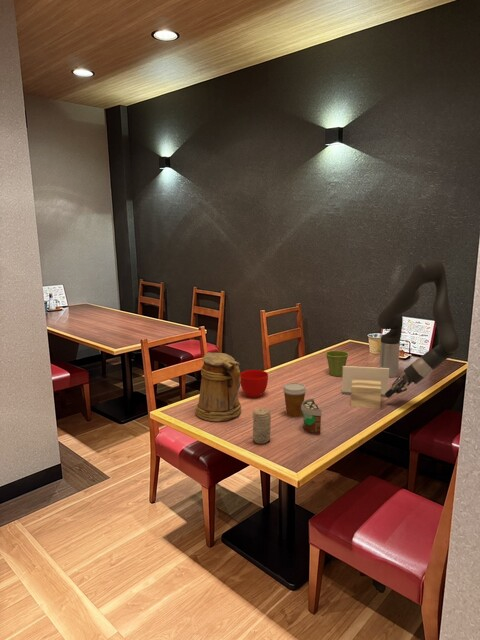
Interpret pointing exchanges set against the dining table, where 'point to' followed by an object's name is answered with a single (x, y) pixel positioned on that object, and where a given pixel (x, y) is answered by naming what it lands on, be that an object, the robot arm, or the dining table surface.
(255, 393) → the ceramic cup
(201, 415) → the tankard
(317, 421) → the food container
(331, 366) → the plant pot
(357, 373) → the letter sign
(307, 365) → the dining table surface
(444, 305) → the robot arm
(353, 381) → the beech block
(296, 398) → the disposable coffee cup
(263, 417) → the beige textured cylinder
